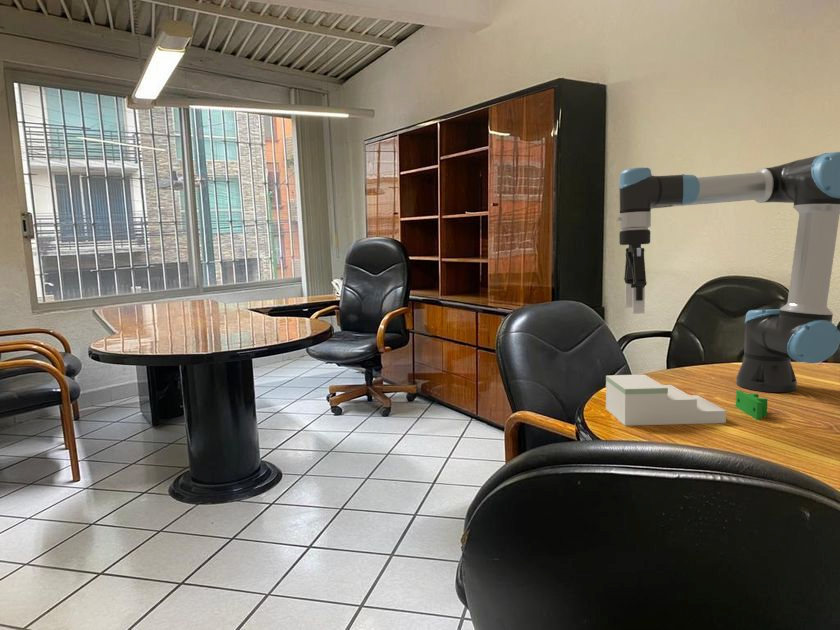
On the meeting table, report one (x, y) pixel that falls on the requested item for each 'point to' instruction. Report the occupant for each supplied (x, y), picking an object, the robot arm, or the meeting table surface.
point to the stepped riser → (656, 403)
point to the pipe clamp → (751, 404)
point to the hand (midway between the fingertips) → (634, 310)
